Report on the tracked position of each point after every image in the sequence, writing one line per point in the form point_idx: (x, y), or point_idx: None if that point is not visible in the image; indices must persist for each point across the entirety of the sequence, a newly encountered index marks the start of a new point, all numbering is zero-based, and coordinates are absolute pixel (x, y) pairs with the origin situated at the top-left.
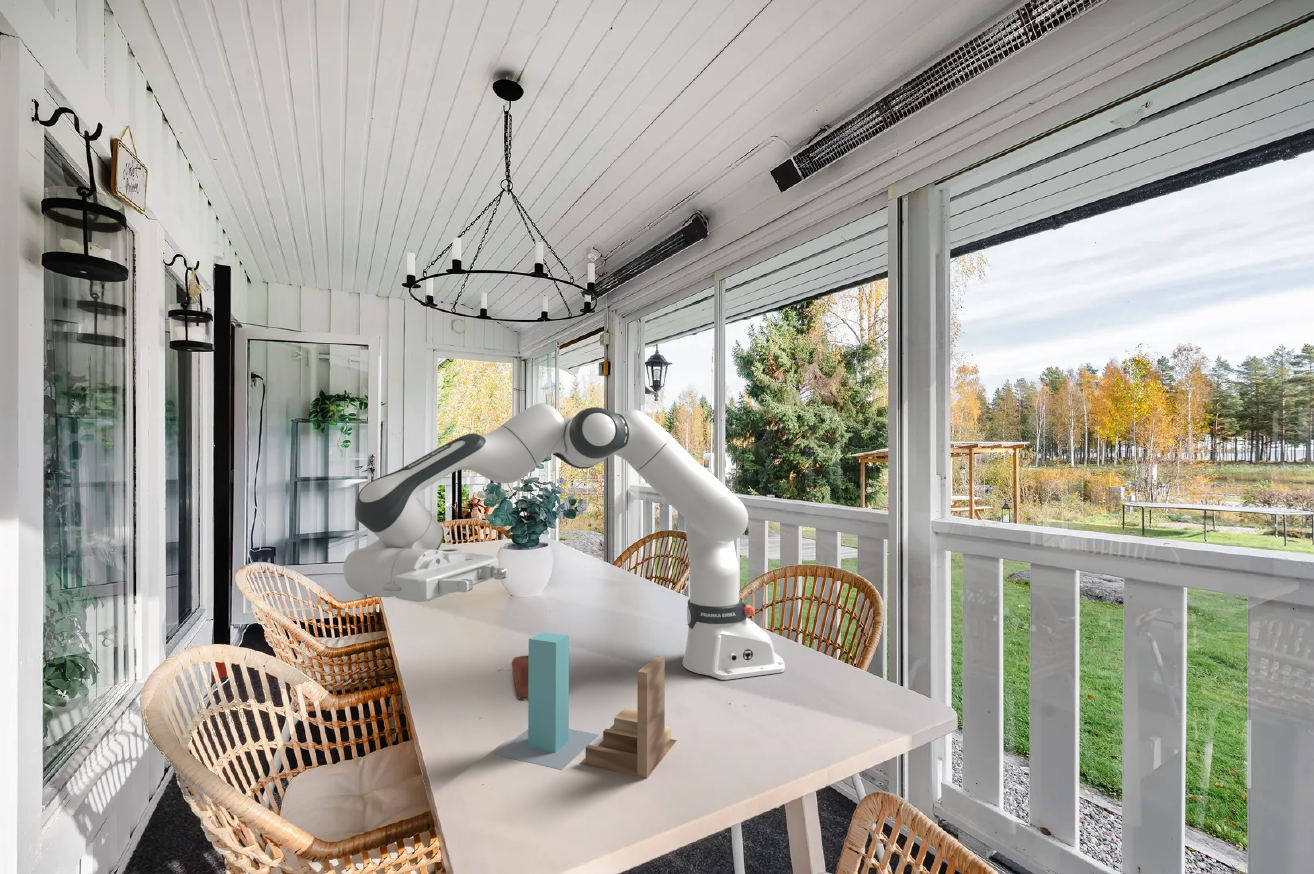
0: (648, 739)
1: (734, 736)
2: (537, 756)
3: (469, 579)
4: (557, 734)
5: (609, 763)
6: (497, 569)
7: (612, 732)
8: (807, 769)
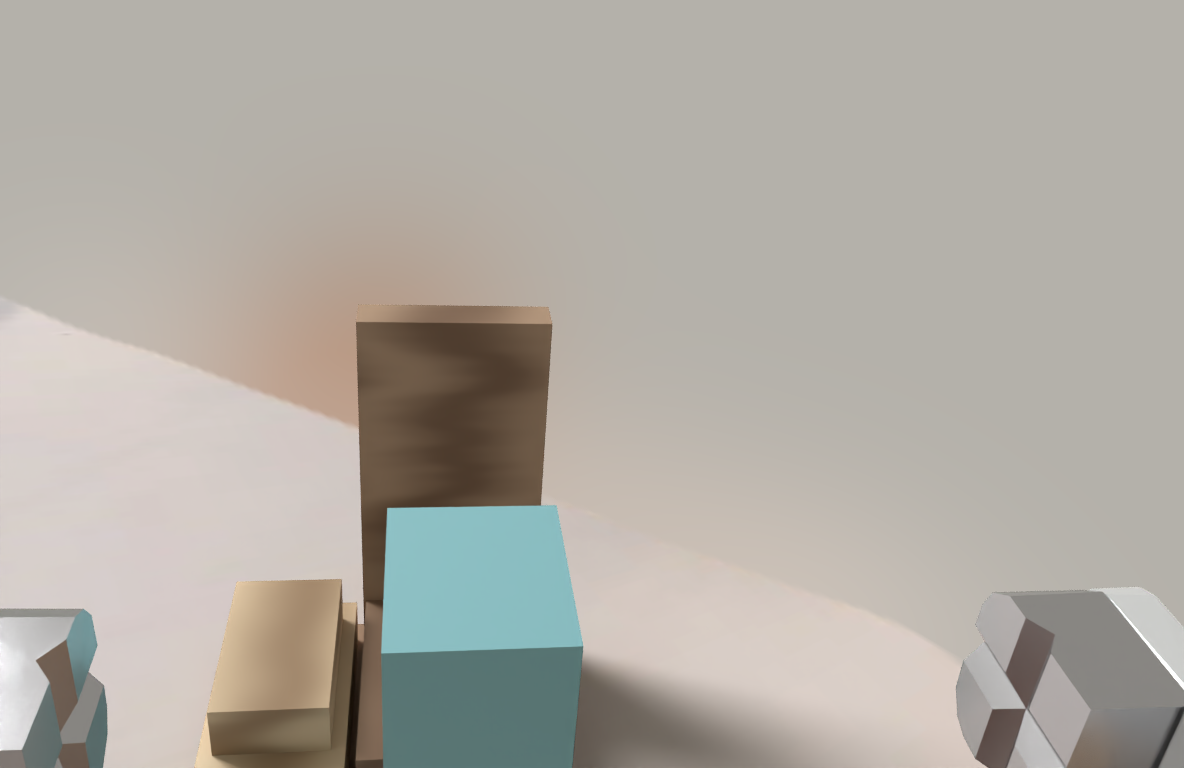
0: None
1: (108, 541)
2: None
3: (1027, 614)
4: None
5: None
6: (44, 680)
7: (381, 726)
8: (274, 408)
